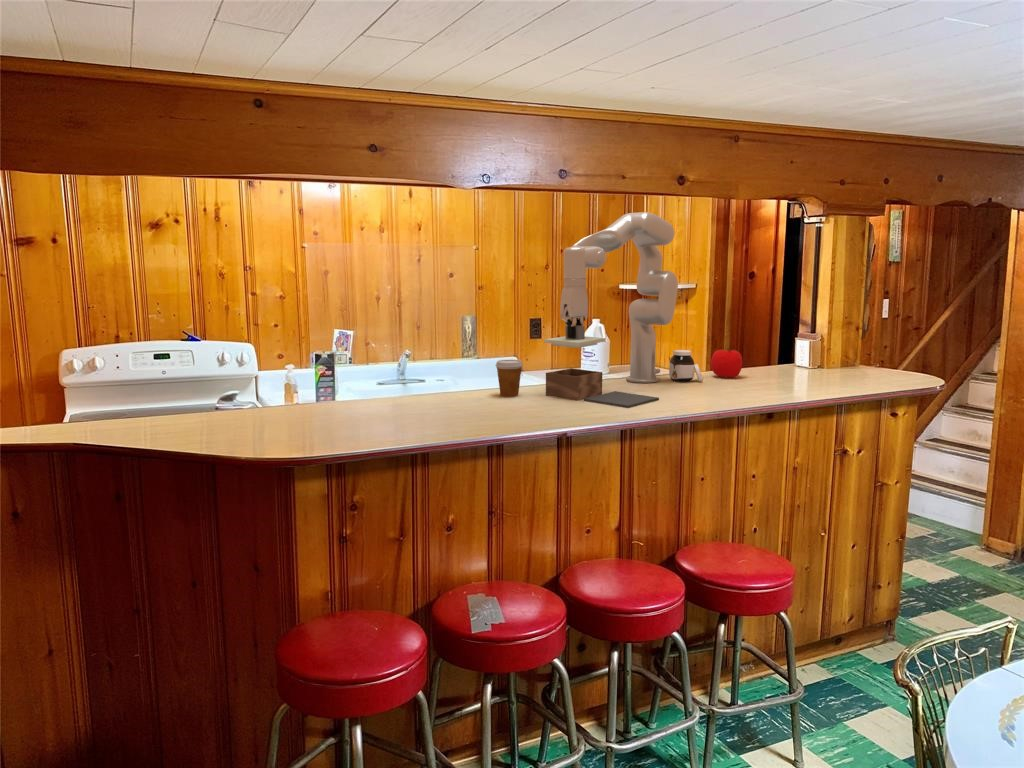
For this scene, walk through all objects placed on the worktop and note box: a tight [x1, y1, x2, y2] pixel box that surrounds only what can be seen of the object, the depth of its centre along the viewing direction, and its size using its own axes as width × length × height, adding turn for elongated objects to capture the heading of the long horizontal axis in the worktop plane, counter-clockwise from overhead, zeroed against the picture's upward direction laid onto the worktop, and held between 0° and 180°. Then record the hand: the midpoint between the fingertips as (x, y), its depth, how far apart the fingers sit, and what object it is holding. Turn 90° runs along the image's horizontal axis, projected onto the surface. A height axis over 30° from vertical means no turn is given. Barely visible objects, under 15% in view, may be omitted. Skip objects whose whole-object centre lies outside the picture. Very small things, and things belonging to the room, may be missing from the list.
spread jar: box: [668, 349, 703, 383], centre depth 284 cm, size 12×11×12 cm
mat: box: [583, 390, 660, 409], centre depth 247 cm, size 18×18×1 cm
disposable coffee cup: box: [495, 359, 523, 398], centre depth 257 cm, size 10×10×12 cm
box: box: [545, 367, 603, 401], centre depth 257 cm, size 14×14×8 cm
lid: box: [543, 324, 607, 349], centre depth 254 cm, size 15×15×7 cm
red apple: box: [710, 348, 743, 379], centre depth 292 cm, size 12×13×12 cm
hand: (574, 336), depth 254 cm, fingers closed on lid, 3 cm apart
